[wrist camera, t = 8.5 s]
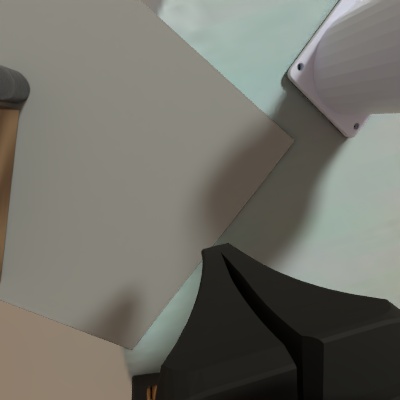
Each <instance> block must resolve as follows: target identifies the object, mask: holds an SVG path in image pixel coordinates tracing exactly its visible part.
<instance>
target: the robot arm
mask: <svg viewBox="0 0 400 400" xmlns="http://www.w3.org/2000/svg"><path fill="white" fill-rule="evenodd" d="M298 64H300V66H301V69H300V71H299V70H298V69H297V66H298ZM287 75H288V78H289V80H290V81H291V82H292V83H293V84H294V85H295V86H296V87H297V88H298V89H299V90H300V91H301V92H302V93H303V94H304V95H305V96H306V97H307V98H308V99H309V100H310V101H311V102H312V103H313V104H314V105H315V106H316V107H317V108H318V109H319V110H320V111H321V112H322V113H323V114H324V115H325V116H326V117H327V118H328V119H329V120H330V121H331V122H332V123H333V124H334V125H335V126H336V127H337V128H338V129H339V130H340V131H341V133H342V134H343V135H344V136H346V137H350V138H352V137H354V136H355V135H356V134H357V133H358V131H359V130H360V129H361V128H362V126H363V125H364V124H365V123H366V122H367V120H368V119H369V118H370V117H371V115H372V114H384V113H400V0H339V2H338V3H337V5H336V6H335V7H334V9H333V10H332V11H331V13H330V14H329V15H328V17H327V18H326V19H325V21H324V22H323V24H322V25H321V26H320V28H319V29H318V30H317V32H316V33H315V34H314V36H313V37H312V38H311V40H310V41H309V43H308V44H307V45H306V47H305V48H304V49H303V51H302V52H301V53H300V55H299V56H298V57H297V59H296V60H295V62H294V63H293V64H292V66H291V67H290V68H289V70H288V73H287ZM354 124H355V125H356V127H355V128H354ZM201 255H202V260H203V267H202V276H201V282H200V287H199V291H198V295H197V298H196V301H195V304H194V307H193V309H192V312H191V315H190V317H189V319H188V322H187V324H186V326H185V328H184V330H183V331H182V333H181V335H180V337H179V339H178V341H177V343H176V344H175V346H174V348H173V349H172V351H171V352H170V354H169V355H168V357H167V358H166V360H165V361H164V363H163V364H162V366H161V370H160V374H159V379H158V383H157V389H156V394H155V400H400V309H398V308H397V307H396V306H394V305H393V304H392V303H390V302H389V301H388V300H386V299H379V298H373V297H367V296H360V295H354V294H349V293H344V292H340V291H335V290H331V289H327V288H323V287H319V286H316V285H313V284H309V283H306V282H303V281H300V280H297V279H295V278H292V277H290V276H287V275H285V274H282V273H280V272H278V271H275V270H273V269H271V268H269V267H267V266H265V265H263V264H261V263H260V262H258V261H256V260H254V259H253V258H251V257H249V256H248V255H246V254H244V253H243V252H241V251H240V250H238V249H237V248H235V247H234V246H232V245H231V244H229V243H226V244H222V245H218V246H214V247H209V248H205V249H203V250H202V251H201Z"/></svg>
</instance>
